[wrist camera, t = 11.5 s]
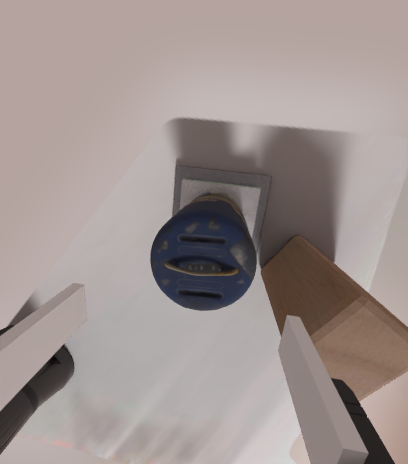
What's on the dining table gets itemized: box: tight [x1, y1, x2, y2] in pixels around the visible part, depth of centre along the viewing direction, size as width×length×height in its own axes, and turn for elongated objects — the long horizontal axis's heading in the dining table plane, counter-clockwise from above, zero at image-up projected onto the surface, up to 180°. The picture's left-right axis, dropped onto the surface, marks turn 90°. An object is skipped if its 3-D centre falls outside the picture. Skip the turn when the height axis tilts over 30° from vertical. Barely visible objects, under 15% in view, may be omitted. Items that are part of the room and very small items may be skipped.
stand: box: [173, 166, 272, 256], centre depth 36 cm, size 16×17×5 cm
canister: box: [151, 193, 257, 311], centre depth 25 cm, size 10×10×18 cm
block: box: [261, 235, 408, 401], centre depth 30 cm, size 10×10×20 cm
